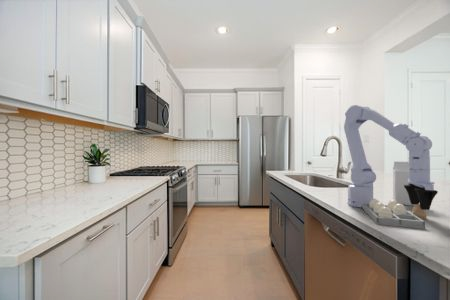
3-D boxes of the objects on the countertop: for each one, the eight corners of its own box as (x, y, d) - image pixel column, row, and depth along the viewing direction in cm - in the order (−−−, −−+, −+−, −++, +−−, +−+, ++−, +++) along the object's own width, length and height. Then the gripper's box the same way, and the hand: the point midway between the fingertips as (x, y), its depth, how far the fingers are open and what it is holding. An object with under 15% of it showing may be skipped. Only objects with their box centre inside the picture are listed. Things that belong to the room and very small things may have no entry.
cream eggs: (380, 221, 73) (380, 207, 73) (368, 209, 88) (368, 197, 88) (417, 225, 70) (417, 210, 70) (397, 211, 85) (397, 199, 84)
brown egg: (415, 218, 77) (415, 205, 77) (410, 215, 81) (410, 202, 81) (428, 219, 76) (428, 206, 76) (423, 216, 80) (423, 203, 80)
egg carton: (376, 223, 72) (376, 217, 72) (362, 208, 90) (362, 203, 90) (425, 228, 68) (425, 221, 68) (400, 211, 85) (400, 206, 85)
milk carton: (416, 206, 93) (416, 162, 93) (395, 204, 97) (395, 161, 97) (412, 202, 99) (412, 161, 99) (393, 200, 103) (393, 161, 103)
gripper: (445, 171, 70) (445, 213, 70) (423, 167, 84) (423, 202, 84) (418, 171, 73) (418, 211, 73) (400, 167, 86) (401, 201, 86)
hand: (419, 206), depth 78 cm, fingers open, 7 cm apart
